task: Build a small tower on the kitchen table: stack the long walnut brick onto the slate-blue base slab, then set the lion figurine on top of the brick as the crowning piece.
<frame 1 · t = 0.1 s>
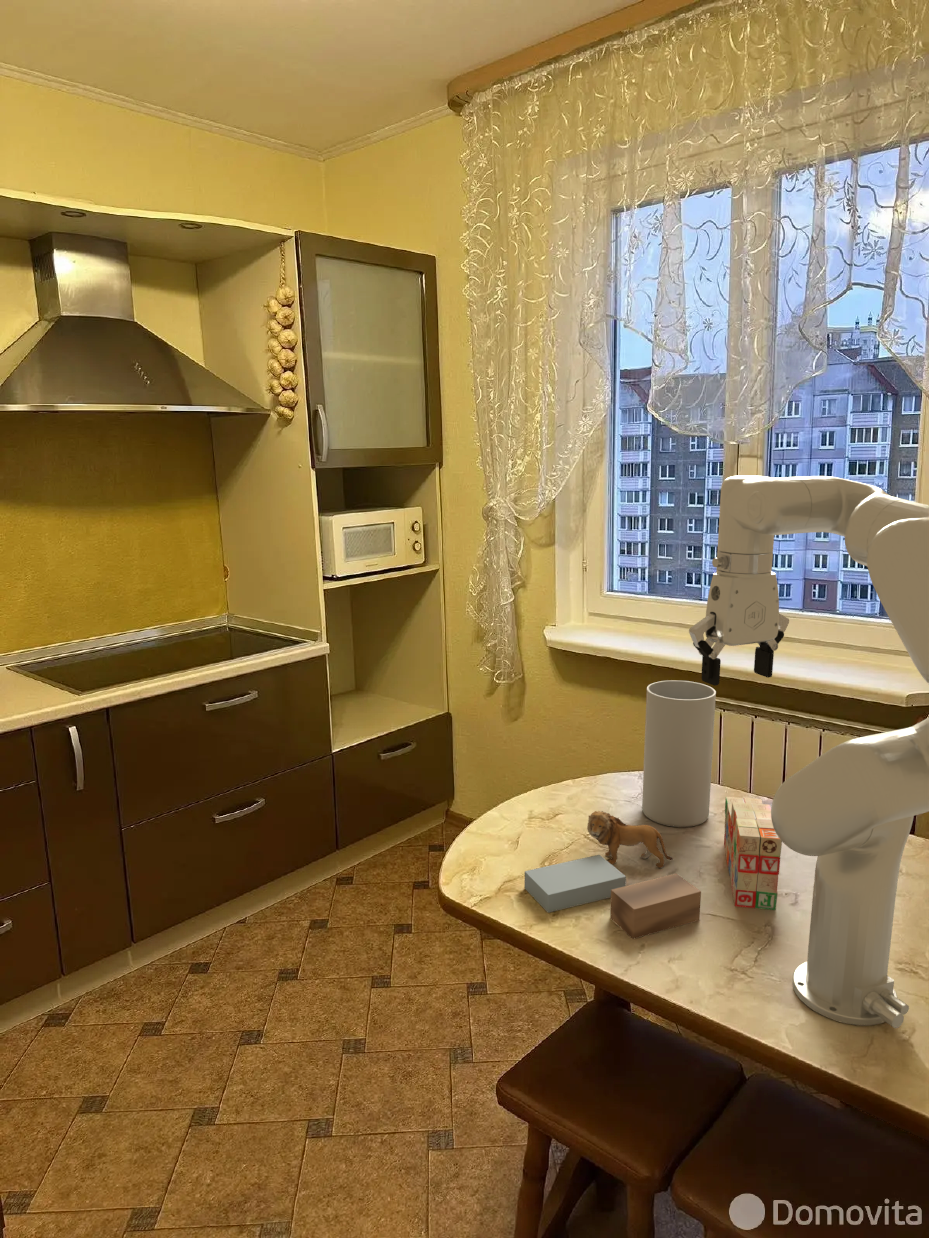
hand: (736, 679, 127), 37 cm above the table, tool pointing down, fingers open, 9 cm apart
walnut brick: (654, 920, 132), on the table
base slab: (574, 890, 140), on the table
stack of blocks: (747, 876, 145), on the table
cylinder vase: (675, 815, 167), on the table
lion figurine: (626, 862, 149), on the table
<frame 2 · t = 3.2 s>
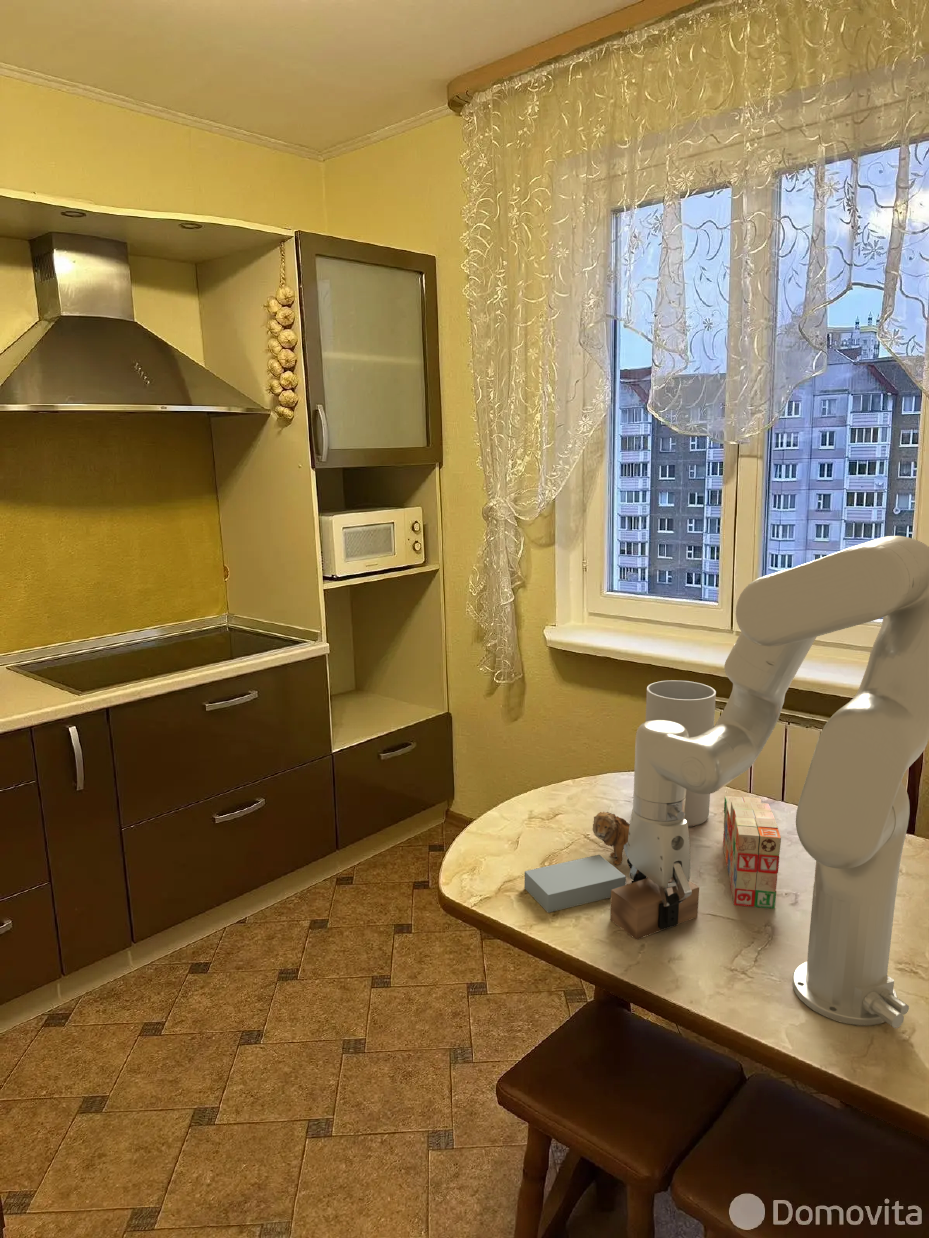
hand: (653, 913, 132), 1 cm above the table, tool pointing down, fingers closed on walnut brick, 6 cm apart
walnut brick: (653, 918, 132), on the table, touching gripper
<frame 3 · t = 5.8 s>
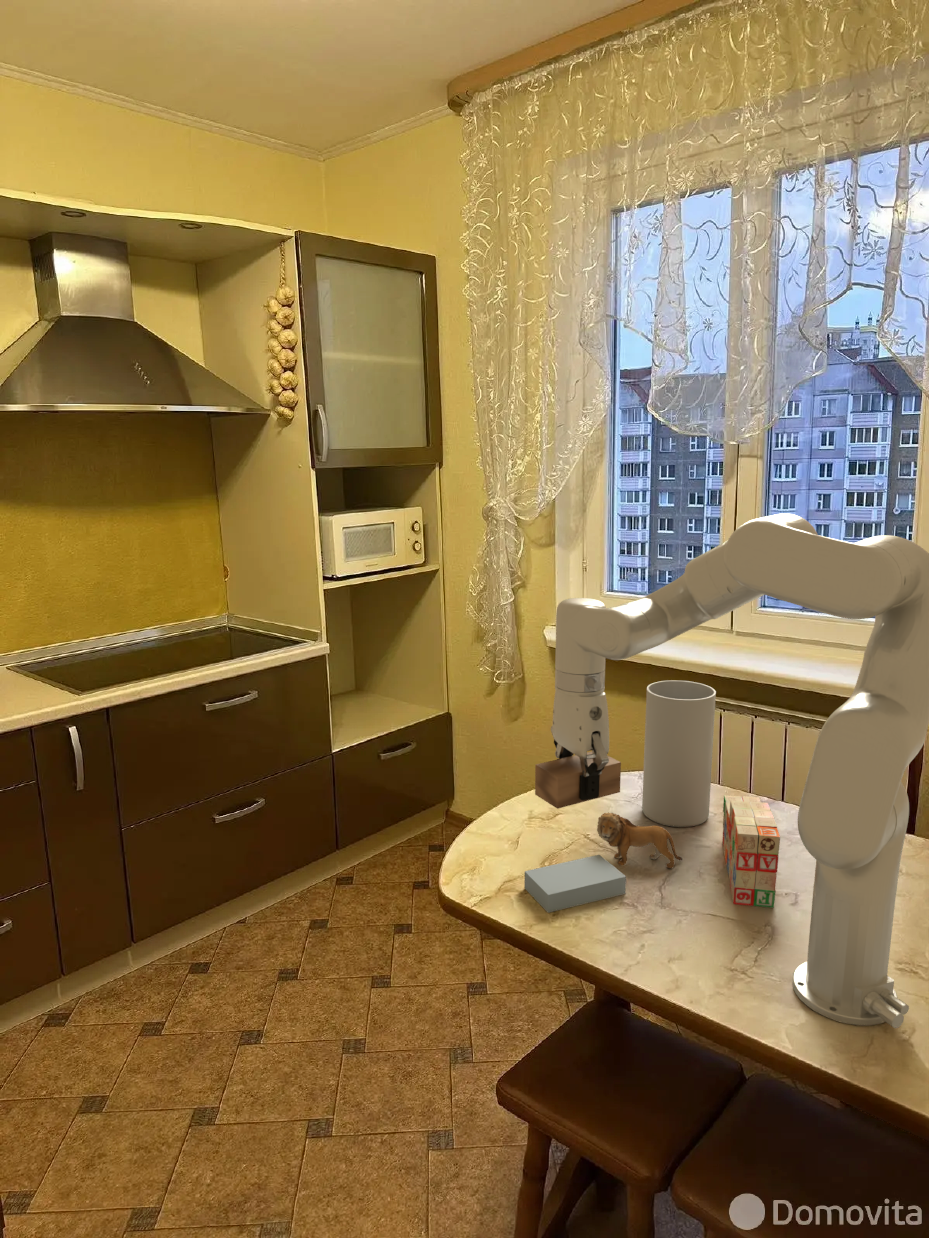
hand: (577, 788, 136), 18 cm above the table, tool pointing down, fingers closed on walnut brick, 6 cm apart
walnut brick: (577, 793, 136), point 17 cm above the table, touching gripper
when the fingers open (5 cm above the table, at t = 8.6 s): walnut brick stays where it is, resting on base slab.
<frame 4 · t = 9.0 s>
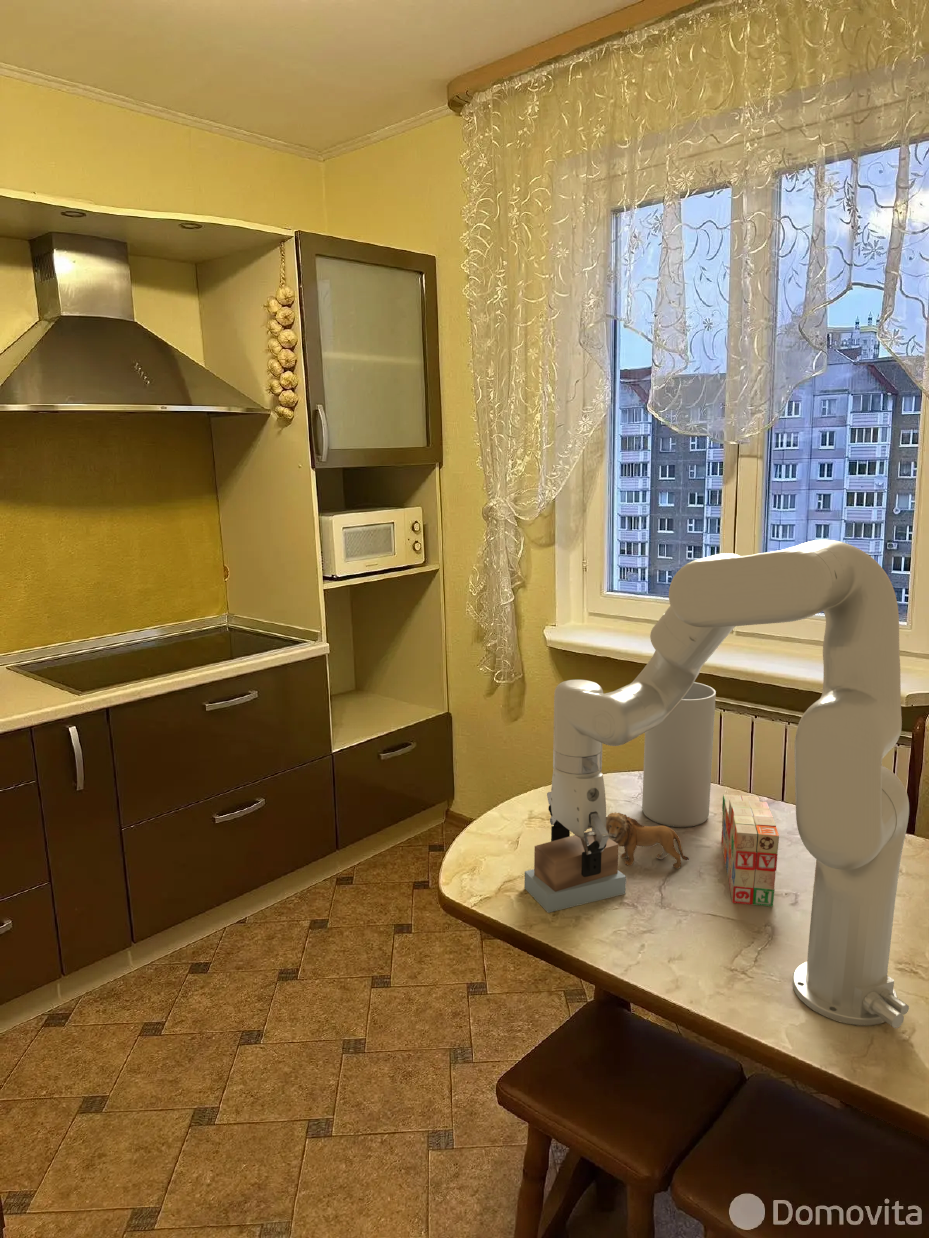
hand: (575, 860, 139), 5 cm above the table, tool pointing down, fingers open, 9 cm apart
walnut brick: (576, 873, 139), point 3 cm above the table, touching base slab
lion figurine: (643, 863, 149), on the table
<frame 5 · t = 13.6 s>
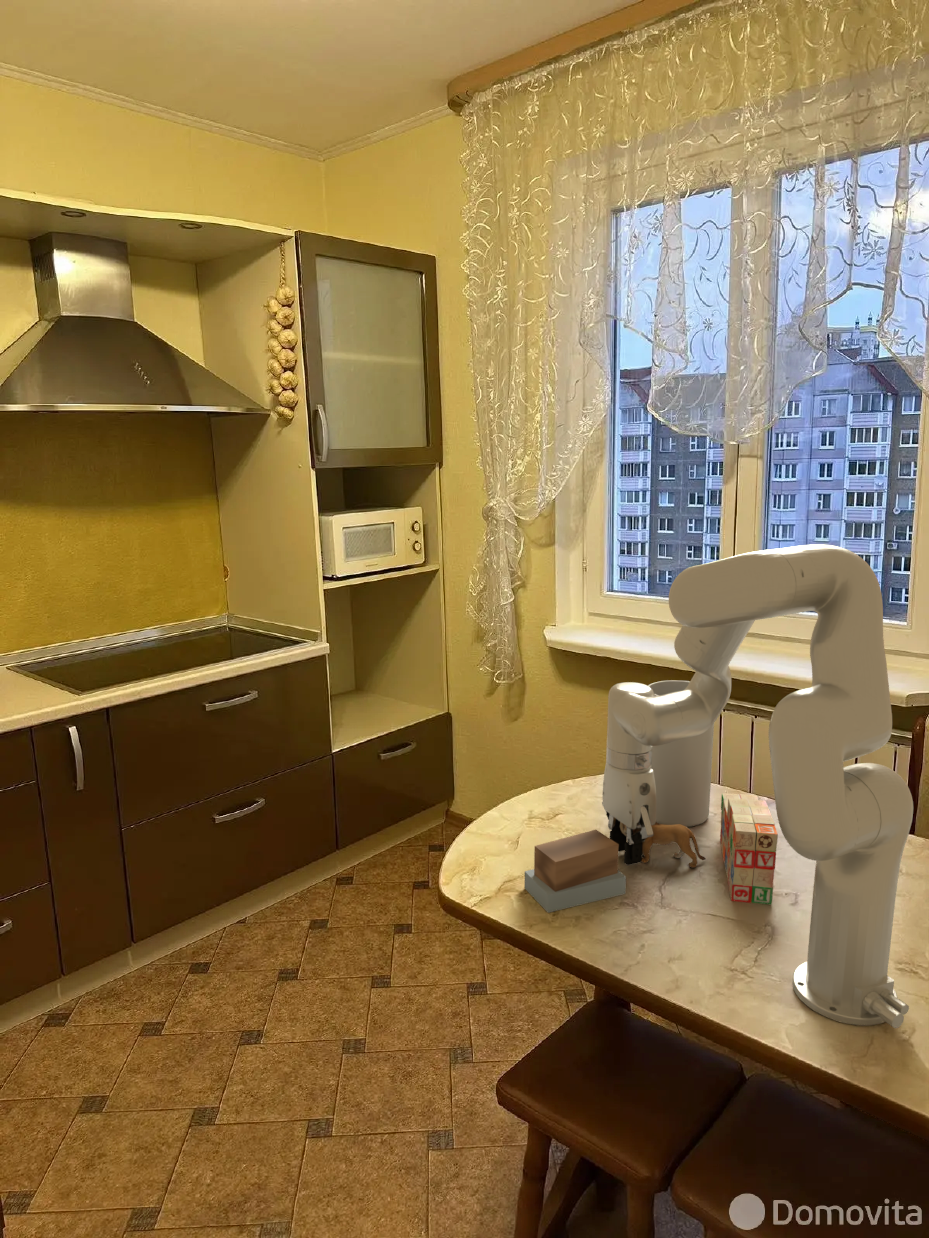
hand: (625, 855, 149), 1 cm above the table, tool pointing down, fingers closed on lion figurine, 3 cm apart
lion figurine: (659, 861, 149), on the table, touching gripper
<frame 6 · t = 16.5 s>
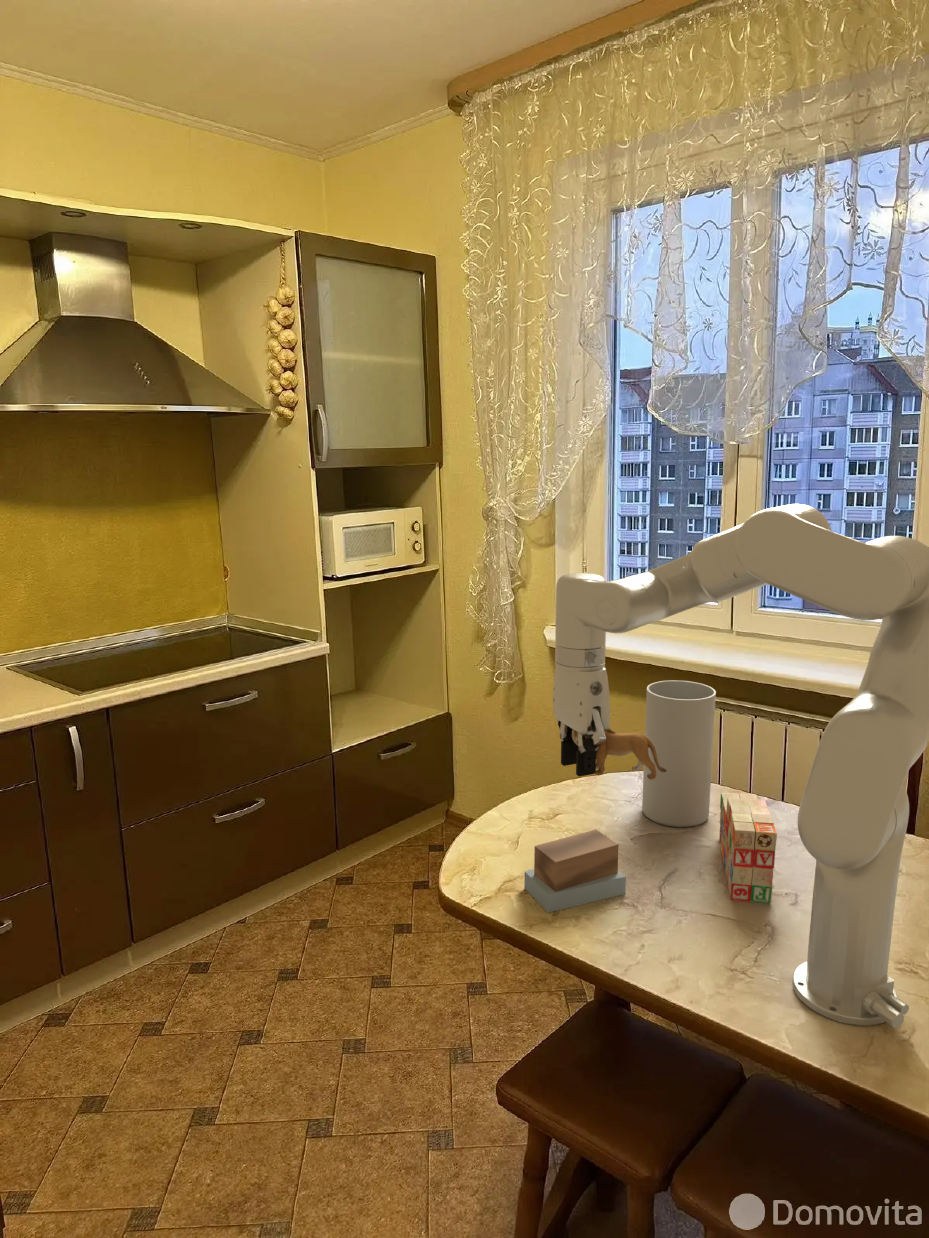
hand: (578, 768, 135), 21 cm above the table, tool pointing down, fingers closed on lion figurine, 4 cm apart
lion figurine: (615, 774, 135), point 20 cm above the table, touching gripper
when the fingers open (9 cm above the table, at t = 19.5 s): lion figurine stays where it is, resting on walnut brick.
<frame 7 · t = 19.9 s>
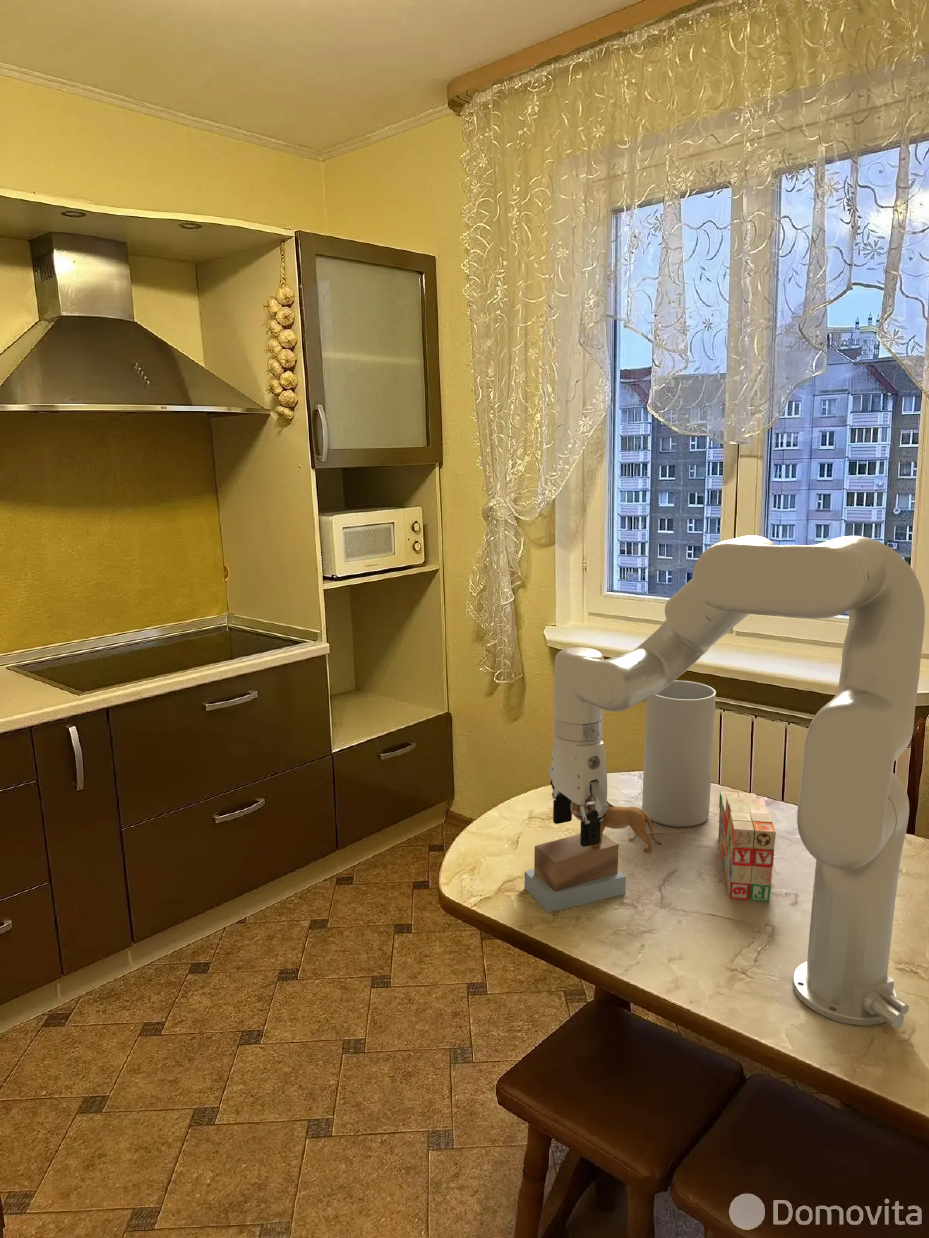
hand: (575, 832, 138), 10 cm above the table, tool pointing down, fingers open, 8 cm apart
walnut brick: (576, 873, 139), point 3 cm above the table, touching base slab, lion figurine
lion figurine: (612, 846, 138), point 8 cm above the table, touching walnut brick
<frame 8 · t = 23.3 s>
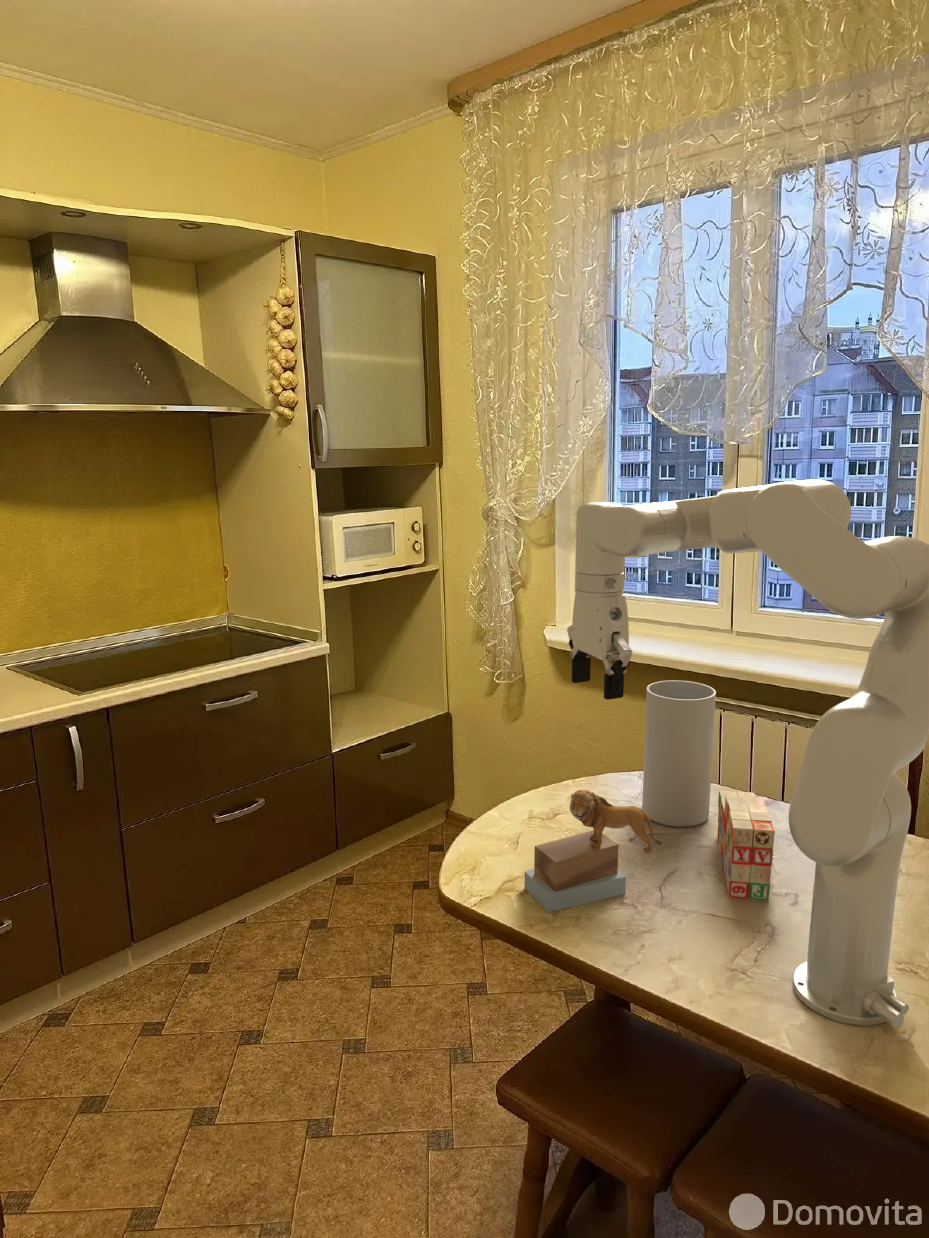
hand: (596, 689, 137), 32 cm above the table, tool pointing down, fingers open, 9 cm apart
at the end: walnut brick 0.1 cm off-centre on the base slab, point 3.0 cm above the base slab's base; lion figurine inside the target area on the base slab (5.8 cm from its centre), point 7.8 cm above the base slab's base; lion figurine tilted 0° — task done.
